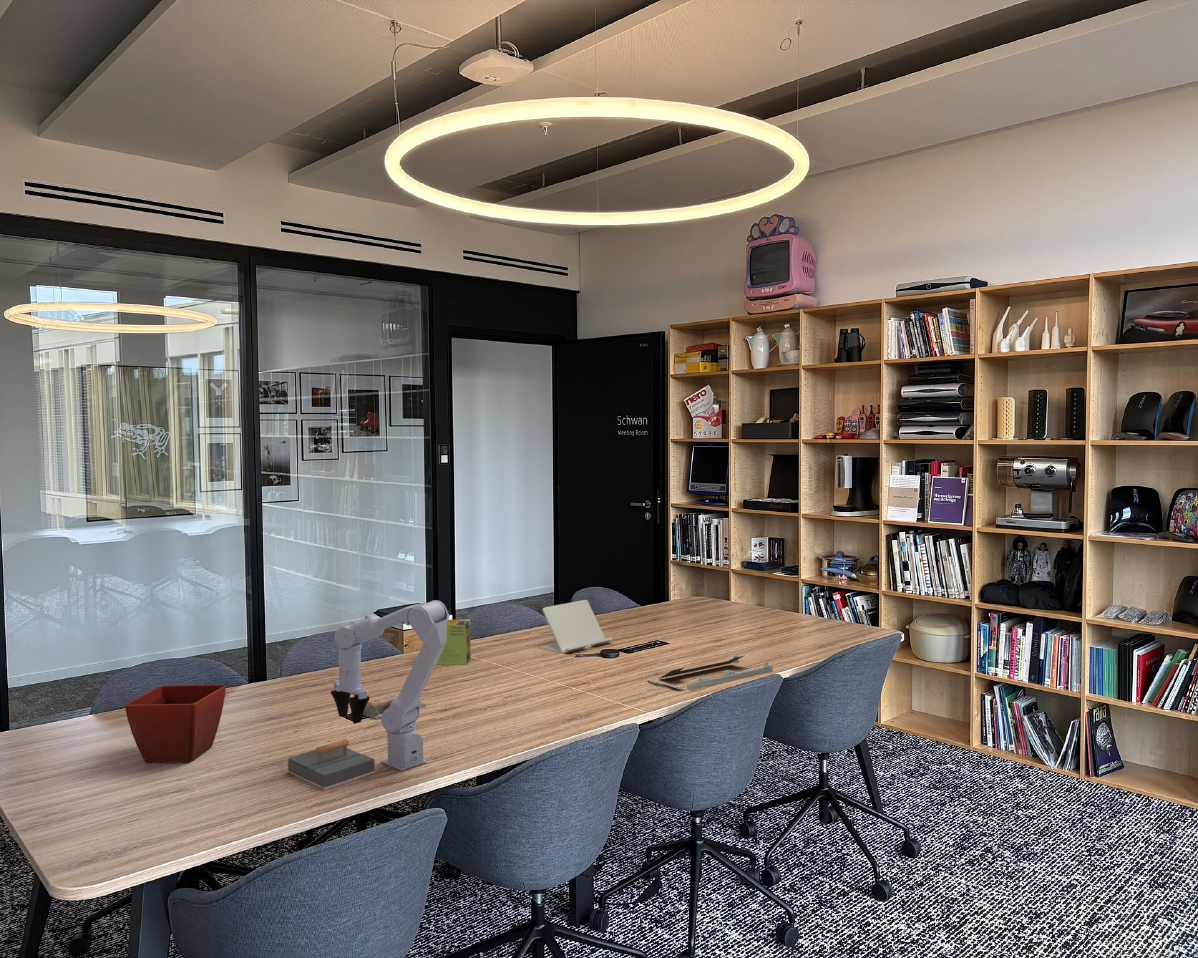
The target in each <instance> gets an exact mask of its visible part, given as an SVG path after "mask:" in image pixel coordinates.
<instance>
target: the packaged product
mask: <svg viewBox="0 0 1198 958" xmlns="http://www.w3.org/2000/svg"><path fill="white" fill-rule="evenodd" d="M399 694H400V693H397V694H394V695H390V696H387V697H382V698H377V699H373V700H369V701H368V703H367V704H366V707H365V709H364V712H363V716H365V717H367V718H371V719H374V720H376V721H379V719H380V720H381V716H382V713H383V712H384V711H385V710H386V709H387V708H389V706H390V704H391V703H392V701H393V700H394V699H395V698H396V697H397V696H398V695H399ZM426 707H427V703H426V702H423V701H422V704H421V706H420V709H424V708H426Z"/></svg>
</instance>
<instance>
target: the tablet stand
mask: <svg viewBox="0 0 1198 958" xmlns="http://www.w3.org/2000/svg"><path fill="white" fill-rule="evenodd" d="M592 609H593V608H592V607H591V605H590V603H589V601H588V600H587V599H583V600H577V601H572V602H567V603H560V604H556V605H551V606H547V607H543V608H542V610H541V611H542V612H543V615H544V617H545V619H546V622H547V624H548V626H549V628H550V631H551V633H552V636H553V638H554V641H555V642H553V643H548V644H544V645H540V647H539V649H542V650H547V651H551V652H555V653H560V654H568V653H572V652H576V651H580V650H585V649H589V648H594V647H596V646H601V645H604V644H605V645H606V644H609V643H610V642H611V641H613V637H611V636H610V637H607V638H606V637H605V634H604V633H603V630H602V628H601V627H600V624H599V622H598V620H597V618H596V615H595V614H594V611H593V610H592Z"/></svg>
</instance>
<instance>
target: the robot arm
mask: <svg viewBox="0 0 1198 958" xmlns="http://www.w3.org/2000/svg"><path fill="white" fill-rule="evenodd" d="M449 618H450V615H449V612H448V609H447V607H446V605H445V604H444V603H443V602H442V601H441V600H437V599H436V600H435V599H434V600H430V601H429V602H422V603H417V604H413V605H409V606H406V607H404V608H401V609H398V610H395V611H393V612H392V613H389V614H387V615H384V616H382V617H380V616H378V615H377V614H374V615H372V614H367V615H364V618H362V619H360V620H358V621H357V620H353V621H351V622H350V624H348V625H346V626H340V627H339V628H338V629H337V630H336V631H335V632H334V636H333V640H334V643H335V644H336V646H337V647H338V679H336V680H333V688H334V690H331V691H330V695H331V696H332V698H333V700H334V703H335V706H336V709H337V714H338V716H339V717H340V718H341V717H344V716H348V714H349V713H348V712H349V708H350V711H351V712H350V713H351V720H352V721H351V722H352V724H359V723H361V722H362V719H363V716H364V715H363V712H364V709H365V707H366V704H367V703H368V702H369V701H370V696H369V695H367V694H368V692H367V691H368V690H366V689H365V688H364V686H363V685H362V672H361V671H362V649H363V644H364V643H365V642H367V641H371V640H374V639H375V638H379V637H381V636H383V634H384V633H385V630H386V629H388V628H391V627H394V626H396V625H400V624H405V625H406V626H407V627H408V626H410V627H411V629H413V631H414V632H415V634H416V636H418V638H419V639H420V641H421V642H422V643H423V644H422V646H421V648H420V651H419V652H418V654H417V656H416V659H415V660H414V662H413V665H412V667H411V669H410V671H409V673H408V675H407V678H406V679H405V681H404V683H403V686H402V688H401V690H400V692H399V693H398V694H399V695H398V694H397V695H398V696H397V697H396V698H395V699H394V700H393V701H392V703H391V704H390V706H389V708H387V709H386V710H385V711H384V712H383V713H382V716H381V719H380V720H381V721H380V722H381V725H382V727H383V728H384V729H385V732H386V736H387V737H386V739H387V740H386V741H387V742H386V743H387V758H385V759H382V760H380V763H381V764H384V765H386V766H389V767H391V768H394V769H396V770H398V771H406V770H408V769H411V768H414V767H417V766H420V765H422V764H425V763H427V760H426V759H424V741H423V740H424V739H423V737H422V736H421V734H419V733H418V732H417V730H416V726H417V725H416V722H417V720H418V719H419V718H420V715H421V708H420V706H421V704H422V702H423V701H422V700H421V696H422V694H423V693H424V691H425V688H426V686H427V684H428V682H429V680H430V678H431V676H432V674H433V672H434V670H435V668H436V666H437V665H436V664H437V662H438V660H439V658H440V656H441V654H442V651H443V649H444V647H445V645H446V642H447V622H448V620H450V619H449ZM352 695H353V697H352Z"/></svg>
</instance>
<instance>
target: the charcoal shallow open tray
mask: <svg viewBox="0 0 1198 958" xmlns="http://www.w3.org/2000/svg"><path fill="white" fill-rule="evenodd" d="M360 754H361V753H360ZM287 768H288V769H287V771H288V773H289V772H290V774H292V775H293V774H294V775H293V776H296V777H298V778H300V779H302V780H304V781H306V782H308V783H311V784H312V785H315V786H316V785H317V786H316V787H317V788H320V787H321V789H323V790H324V789H325V791H326V790H329V789H333V788H334V787H338V786H340V785H343V784H346V782H347V783H350V782H352V780H353V781H355V780H359V779H361V777H362V778H364V777H367V775H368V776H370V774H371V775H373V774H375V772H376V771H375V758H372V757H370V756H368V755H365V754H363V753H362V754H361V755H358V756H354V757H351V758H348V759H345V760H342V761H338V762H335V763H332V764H329V765H326V766H323V767H319V768H316V769H313V771H310V770H308V769H306V768H304V767H302V766H300V765H297V764H295V763H293V762H291V761H289V760H287ZM337 785H338V786H337Z"/></svg>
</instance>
